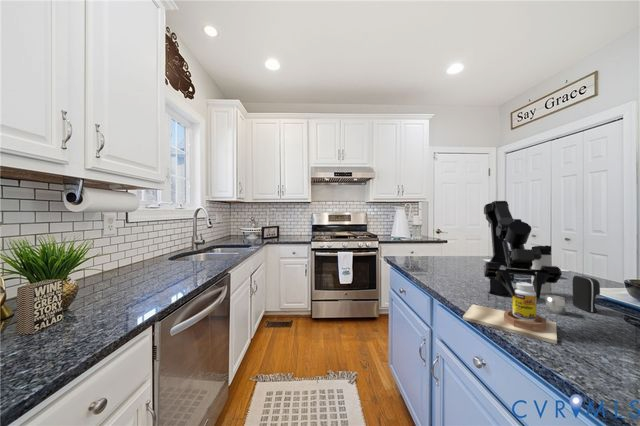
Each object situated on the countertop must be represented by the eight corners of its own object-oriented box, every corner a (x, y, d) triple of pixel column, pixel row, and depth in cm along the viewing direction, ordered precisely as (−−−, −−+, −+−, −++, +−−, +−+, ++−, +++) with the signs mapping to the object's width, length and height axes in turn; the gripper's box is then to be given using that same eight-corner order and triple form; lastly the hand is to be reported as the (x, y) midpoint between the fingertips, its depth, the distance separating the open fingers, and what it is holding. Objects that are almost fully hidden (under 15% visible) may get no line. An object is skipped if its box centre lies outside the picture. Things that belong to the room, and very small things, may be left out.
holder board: (462, 319, 80) (462, 310, 80) (472, 306, 90) (472, 298, 90) (556, 344, 65) (556, 332, 65) (556, 325, 75) (556, 315, 75)
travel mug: (556, 295, 101) (556, 246, 101) (540, 295, 101) (540, 246, 101) (543, 290, 107) (543, 244, 107) (527, 290, 108) (527, 244, 107)
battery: (602, 313, 84) (602, 279, 84) (589, 313, 84) (589, 279, 84) (583, 305, 91) (583, 274, 90) (571, 305, 91) (571, 274, 91)
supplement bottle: (511, 317, 75) (511, 284, 75) (513, 311, 79) (513, 279, 79) (536, 323, 71) (536, 287, 71) (536, 316, 75) (536, 283, 75)
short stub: (545, 311, 86) (544, 297, 86) (546, 307, 89) (546, 294, 89) (565, 316, 82) (565, 301, 82) (565, 311, 85) (565, 297, 85)
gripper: (485, 237, 82) (492, 279, 72) (559, 239, 74) (578, 287, 65) (481, 256, 89) (487, 297, 80) (548, 260, 82) (563, 306, 72)
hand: (525, 296), depth 74 cm, fingers closed on supplement bottle, 5 cm apart
